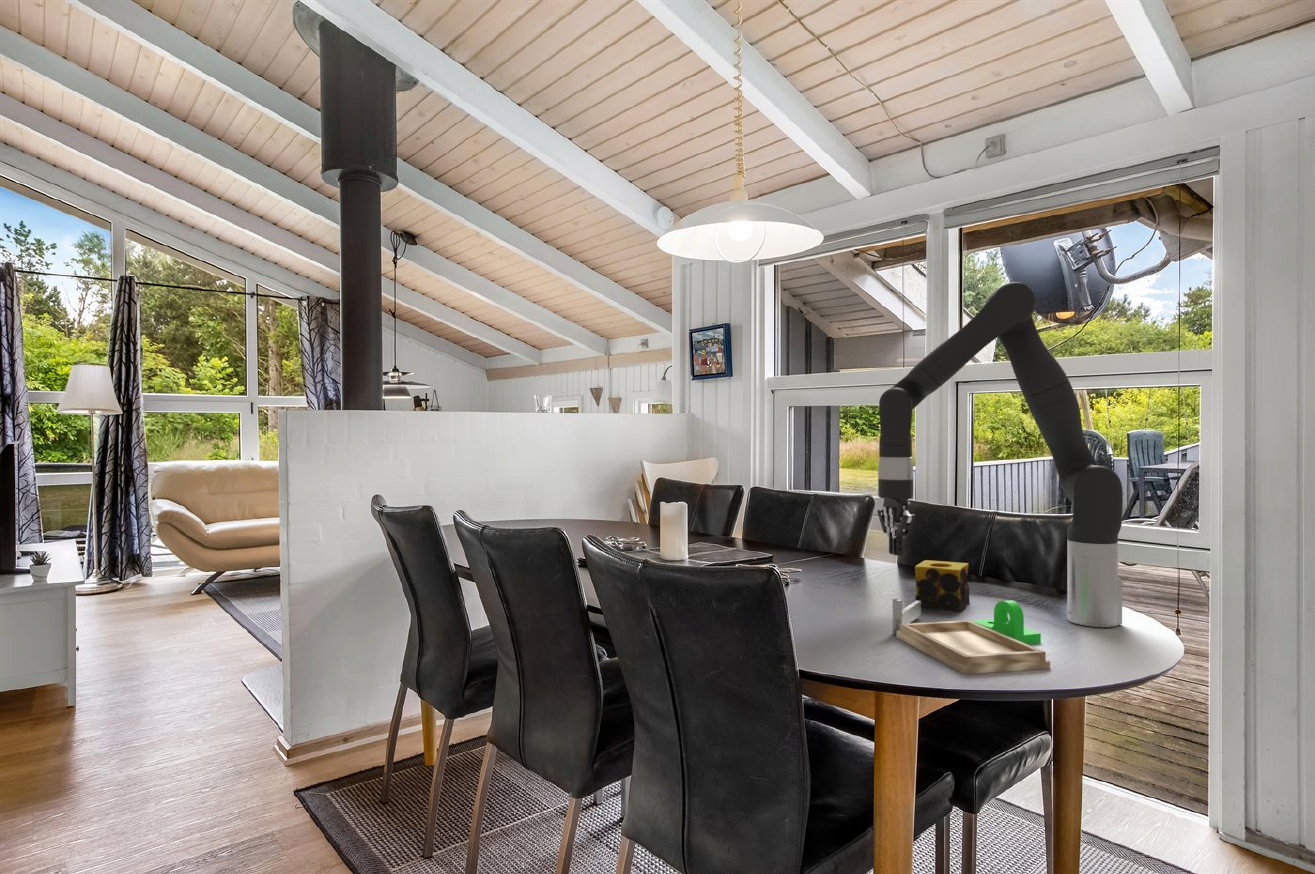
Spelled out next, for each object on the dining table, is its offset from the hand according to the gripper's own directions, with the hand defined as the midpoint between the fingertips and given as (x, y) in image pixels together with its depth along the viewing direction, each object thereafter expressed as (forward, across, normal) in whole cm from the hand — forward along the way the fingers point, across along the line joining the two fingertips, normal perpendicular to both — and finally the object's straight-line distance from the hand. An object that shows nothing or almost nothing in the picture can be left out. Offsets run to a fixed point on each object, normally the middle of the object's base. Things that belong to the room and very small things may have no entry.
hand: (895, 554), depth 167 cm
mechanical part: (+13, -22, -11) cm, 28 cm away
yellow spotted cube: (+13, +2, -13) cm, 19 cm away
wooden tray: (+13, -30, +2) cm, 33 cm away
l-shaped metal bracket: (+13, -18, +9) cm, 24 cm away
